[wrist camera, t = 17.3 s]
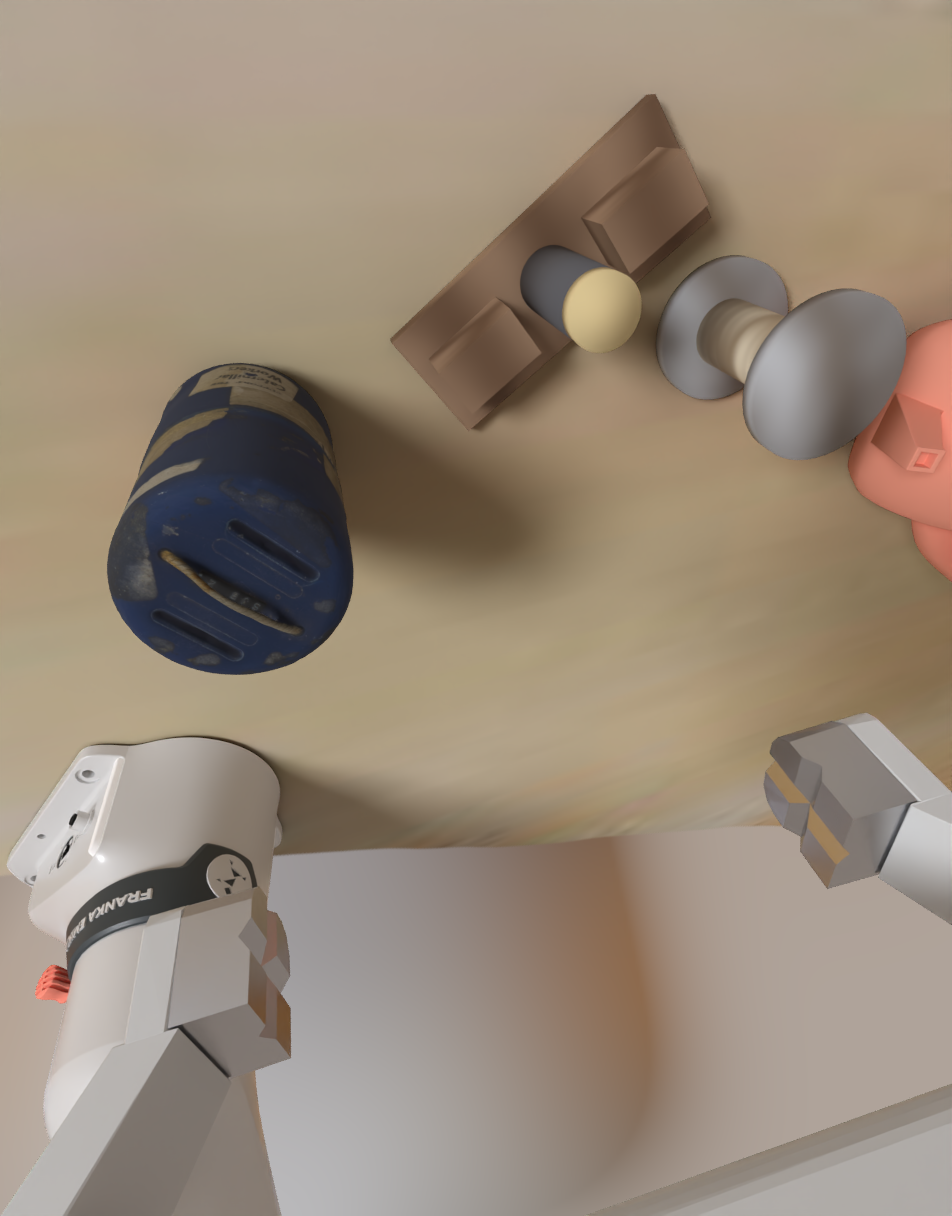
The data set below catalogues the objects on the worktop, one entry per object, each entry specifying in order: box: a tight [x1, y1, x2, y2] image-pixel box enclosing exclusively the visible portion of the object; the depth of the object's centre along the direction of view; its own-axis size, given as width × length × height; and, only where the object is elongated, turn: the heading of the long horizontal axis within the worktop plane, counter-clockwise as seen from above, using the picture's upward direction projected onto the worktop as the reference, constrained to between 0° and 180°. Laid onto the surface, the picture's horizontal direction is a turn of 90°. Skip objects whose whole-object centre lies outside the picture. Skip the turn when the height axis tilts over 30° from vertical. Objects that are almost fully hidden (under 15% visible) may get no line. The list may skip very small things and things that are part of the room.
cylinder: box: [520, 245, 642, 353], centre depth 34 cm, size 4×4×8 cm
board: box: [390, 94, 711, 431], centre depth 37 cm, size 18×7×4 cm, turn 129°
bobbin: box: [656, 255, 907, 460], centre depth 38 cm, size 8×8×11 cm
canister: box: [107, 363, 353, 675], centre depth 33 cm, size 10×10×18 cm
